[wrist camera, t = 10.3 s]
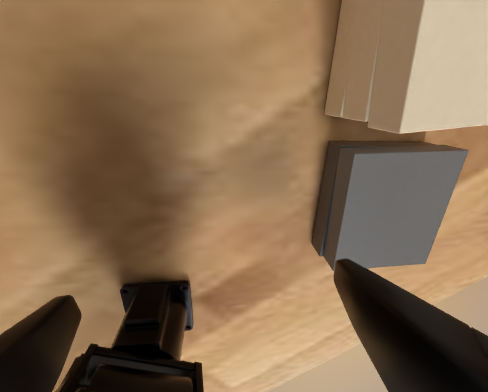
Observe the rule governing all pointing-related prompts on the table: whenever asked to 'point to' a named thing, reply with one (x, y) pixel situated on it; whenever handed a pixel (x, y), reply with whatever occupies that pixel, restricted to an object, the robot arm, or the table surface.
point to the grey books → (384, 201)
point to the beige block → (354, 59)
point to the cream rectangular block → (431, 66)
